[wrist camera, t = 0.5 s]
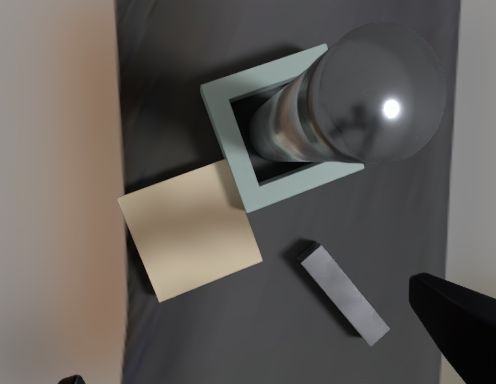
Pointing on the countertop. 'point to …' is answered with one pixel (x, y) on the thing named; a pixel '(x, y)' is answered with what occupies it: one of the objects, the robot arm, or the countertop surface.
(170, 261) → the beige square plate
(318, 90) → the grey round peg
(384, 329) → the bar
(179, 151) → the countertop surface
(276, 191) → the socket
